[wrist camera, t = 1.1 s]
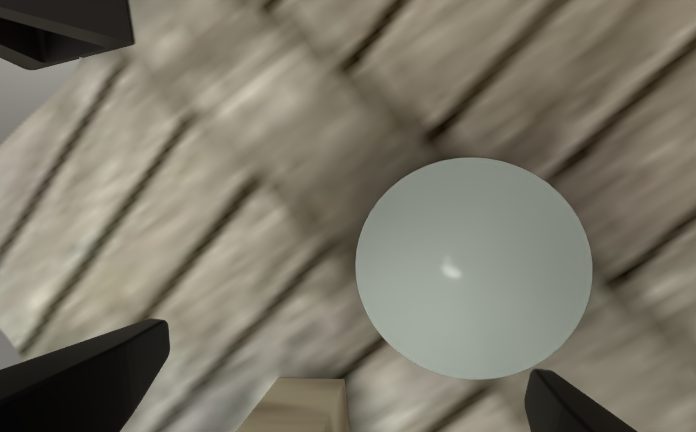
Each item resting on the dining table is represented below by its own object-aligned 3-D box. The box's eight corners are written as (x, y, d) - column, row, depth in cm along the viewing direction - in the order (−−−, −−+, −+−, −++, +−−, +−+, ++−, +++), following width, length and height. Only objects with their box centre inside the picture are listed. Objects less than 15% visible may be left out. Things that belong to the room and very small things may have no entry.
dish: (590, 369, 20) (600, 381, 18) (370, 368, 22) (367, 378, 21) (575, 144, 19) (584, 142, 18) (349, 172, 22) (344, 171, 20)
